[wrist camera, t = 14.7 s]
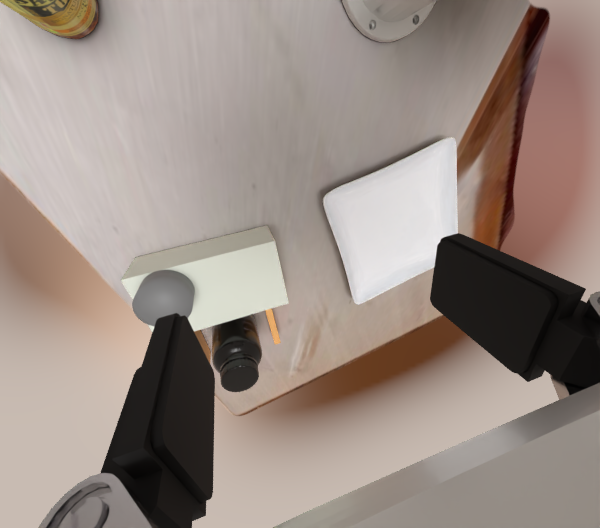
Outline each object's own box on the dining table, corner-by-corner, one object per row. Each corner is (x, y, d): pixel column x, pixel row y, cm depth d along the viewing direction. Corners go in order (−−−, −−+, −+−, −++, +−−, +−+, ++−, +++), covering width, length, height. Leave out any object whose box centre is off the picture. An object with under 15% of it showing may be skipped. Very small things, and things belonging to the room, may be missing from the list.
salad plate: (440, 132, 38) (459, 133, 35) (445, 248, 49) (460, 256, 46) (312, 190, 37) (320, 196, 34) (347, 296, 48) (355, 307, 45)
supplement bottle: (232, 342, 45) (236, 405, 35) (203, 321, 41) (198, 384, 31) (263, 319, 45) (276, 376, 34) (236, 295, 41) (242, 351, 31)
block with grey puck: (267, 225, 37) (279, 250, 29) (290, 326, 47) (304, 365, 39) (135, 257, 34) (111, 294, 26) (189, 358, 44) (183, 406, 36)
